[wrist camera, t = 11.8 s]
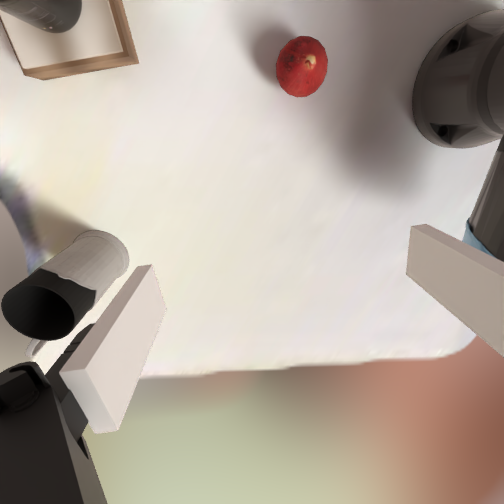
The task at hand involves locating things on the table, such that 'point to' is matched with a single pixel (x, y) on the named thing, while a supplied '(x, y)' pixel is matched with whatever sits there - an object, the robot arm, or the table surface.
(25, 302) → the glass holder
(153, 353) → the table surface
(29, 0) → the supplement bottle
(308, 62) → the onion
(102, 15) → the plinth
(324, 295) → the table surface
